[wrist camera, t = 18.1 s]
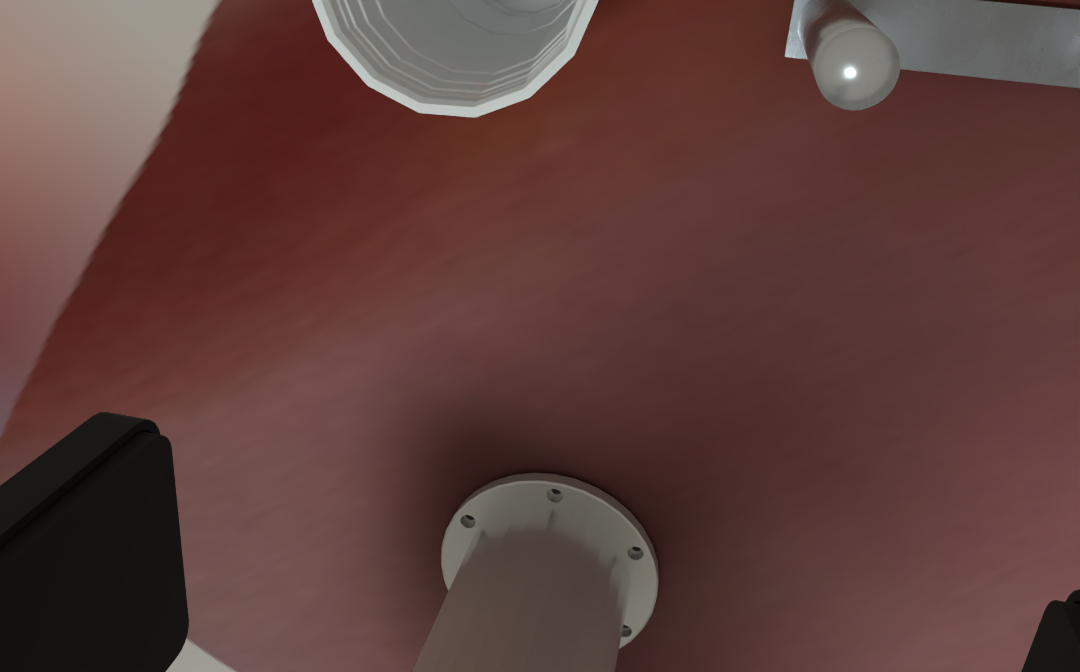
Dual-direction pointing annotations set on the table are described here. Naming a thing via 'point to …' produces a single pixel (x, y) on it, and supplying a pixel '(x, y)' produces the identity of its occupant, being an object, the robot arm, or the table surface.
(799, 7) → the gate
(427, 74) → the plastic cup
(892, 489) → the table surface
